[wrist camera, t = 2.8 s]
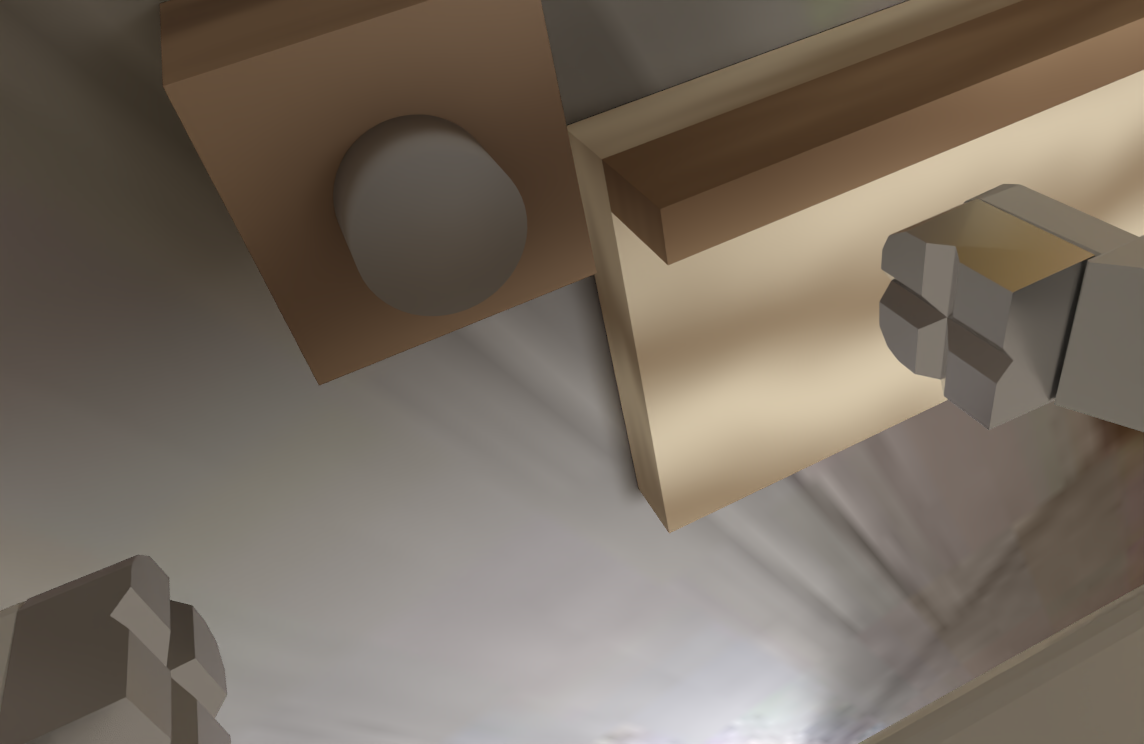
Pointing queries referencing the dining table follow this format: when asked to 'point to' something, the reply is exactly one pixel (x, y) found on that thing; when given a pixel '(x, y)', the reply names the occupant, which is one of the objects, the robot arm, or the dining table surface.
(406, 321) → the knobbed wooden block
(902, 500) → the dining table surface
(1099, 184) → the rail board
